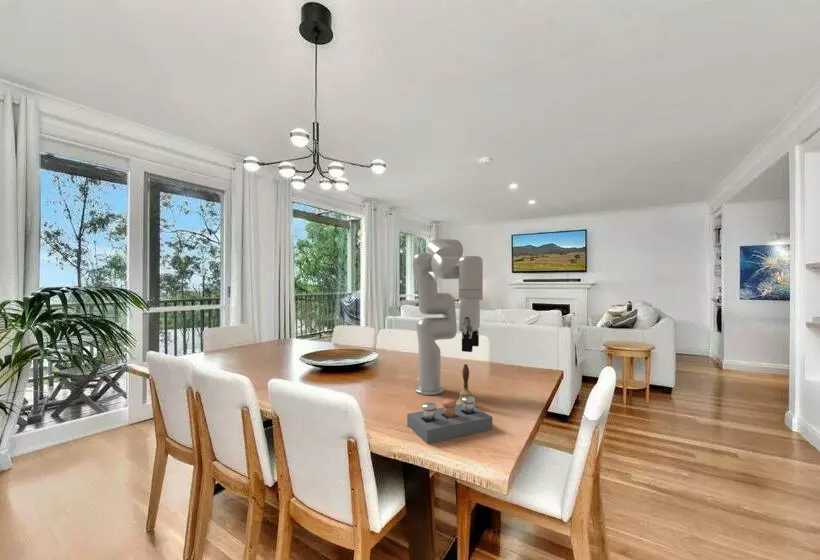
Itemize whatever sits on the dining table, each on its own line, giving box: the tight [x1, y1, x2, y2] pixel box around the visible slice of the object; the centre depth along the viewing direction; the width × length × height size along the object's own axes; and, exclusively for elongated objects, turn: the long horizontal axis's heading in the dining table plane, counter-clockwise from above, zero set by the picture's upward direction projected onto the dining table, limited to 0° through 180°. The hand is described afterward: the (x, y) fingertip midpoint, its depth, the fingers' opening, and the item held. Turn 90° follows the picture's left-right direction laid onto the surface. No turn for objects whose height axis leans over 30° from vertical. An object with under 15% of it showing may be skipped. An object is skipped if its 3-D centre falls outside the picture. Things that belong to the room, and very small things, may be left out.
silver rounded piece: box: [462, 395, 476, 415], centre depth 120 cm, size 4×4×5 cm
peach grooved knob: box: [442, 398, 457, 419], centre depth 117 cm, size 4×4×5 cm
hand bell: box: [456, 363, 478, 409], centre depth 136 cm, size 8×8×16 cm
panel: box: [406, 404, 493, 445], centre depth 117 cm, size 14×24×4 cm, turn 115°
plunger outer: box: [422, 402, 437, 423], centre depth 114 cm, size 4×4×5 cm
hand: (470, 348), depth 113 cm, fingers open, 9 cm apart
